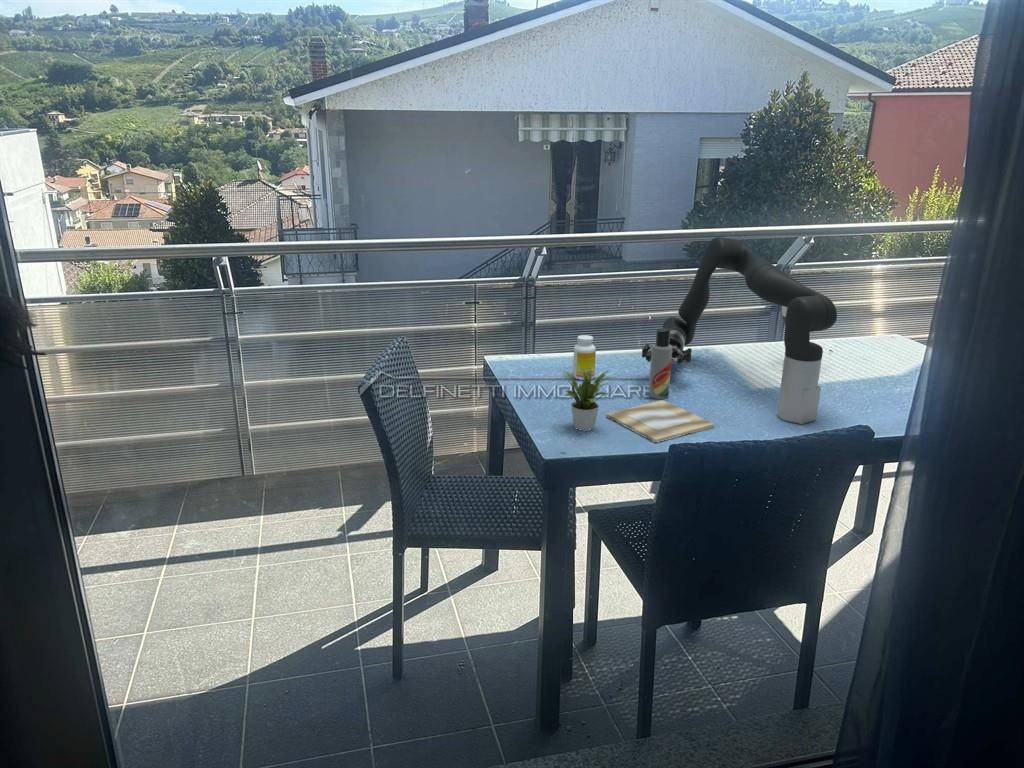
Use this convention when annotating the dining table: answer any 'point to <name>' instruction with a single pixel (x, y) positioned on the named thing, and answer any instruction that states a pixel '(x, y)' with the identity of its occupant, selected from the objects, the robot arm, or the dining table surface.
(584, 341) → the supplement bottle
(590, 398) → the house plant
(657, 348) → the lotion bottle
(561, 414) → the dining table surface
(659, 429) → the dock
